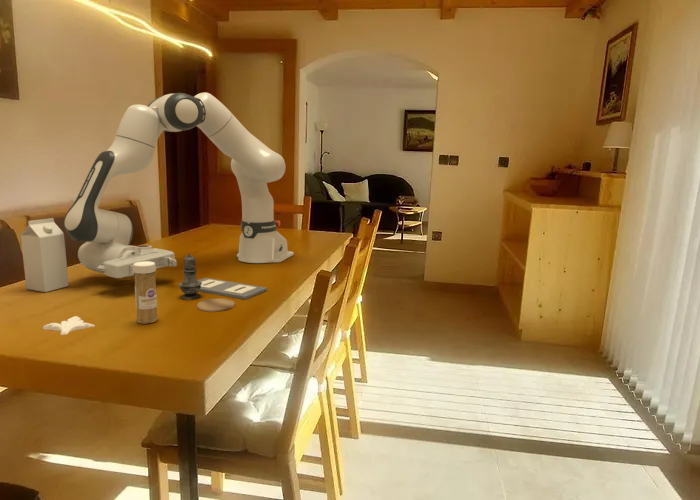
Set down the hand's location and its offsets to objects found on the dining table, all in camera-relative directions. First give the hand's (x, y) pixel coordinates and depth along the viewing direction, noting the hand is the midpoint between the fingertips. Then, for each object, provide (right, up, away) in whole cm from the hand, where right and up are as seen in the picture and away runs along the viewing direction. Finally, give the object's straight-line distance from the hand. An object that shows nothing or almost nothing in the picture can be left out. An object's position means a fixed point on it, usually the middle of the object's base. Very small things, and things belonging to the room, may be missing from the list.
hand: (161, 266), depth 130 cm
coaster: (+17, -10, -10) cm, 22 cm away
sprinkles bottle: (+5, -12, -22) cm, 25 cm away
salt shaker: (+9, -8, -3) cm, 12 cm away
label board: (+16, -7, +5) cm, 18 cm away
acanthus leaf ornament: (-9, -13, -27) cm, 31 cm away
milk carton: (-32, -6, +2) cm, 33 cm away
